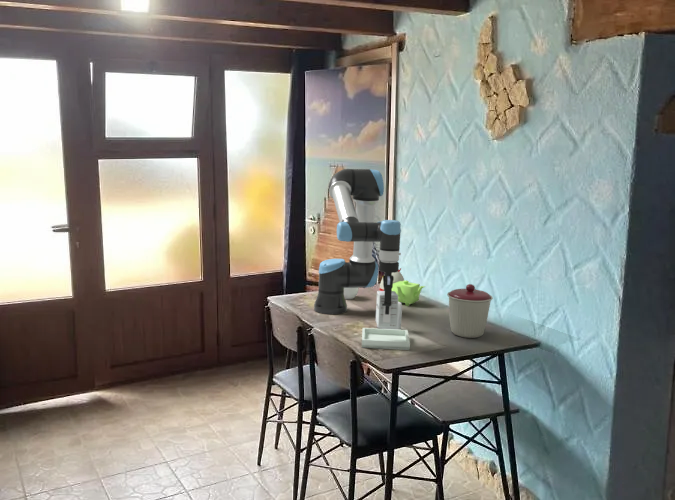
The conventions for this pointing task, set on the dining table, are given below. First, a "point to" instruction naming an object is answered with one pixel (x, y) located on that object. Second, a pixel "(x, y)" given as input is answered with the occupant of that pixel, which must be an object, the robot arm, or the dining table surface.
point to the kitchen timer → (397, 278)
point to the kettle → (407, 291)
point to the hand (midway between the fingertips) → (386, 319)
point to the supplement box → (380, 309)
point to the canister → (468, 311)
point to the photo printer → (399, 316)
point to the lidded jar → (350, 293)
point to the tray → (385, 338)
